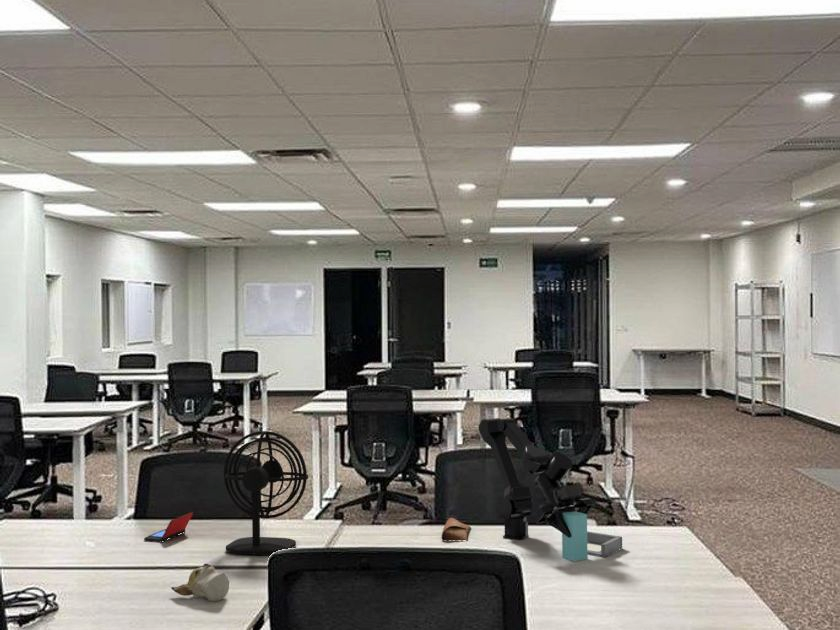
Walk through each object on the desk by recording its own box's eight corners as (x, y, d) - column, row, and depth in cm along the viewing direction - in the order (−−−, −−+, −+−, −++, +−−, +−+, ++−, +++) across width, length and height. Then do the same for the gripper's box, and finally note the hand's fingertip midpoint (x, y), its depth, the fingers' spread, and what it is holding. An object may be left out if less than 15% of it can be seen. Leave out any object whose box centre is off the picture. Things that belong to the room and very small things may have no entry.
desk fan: (315, 542, 264) (313, 429, 264) (295, 557, 247) (293, 437, 247) (233, 539, 270) (231, 428, 270) (208, 554, 253) (207, 435, 253)
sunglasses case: (469, 541, 262) (457, 522, 263) (449, 552, 263) (438, 534, 263) (471, 527, 280) (461, 509, 280) (453, 538, 281) (442, 520, 281)
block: (562, 557, 244) (561, 513, 244) (576, 554, 246) (575, 511, 246) (573, 561, 239) (573, 516, 239) (587, 558, 242) (586, 514, 242)
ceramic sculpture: (206, 571, 205) (168, 565, 214) (207, 608, 204) (169, 600, 213) (240, 561, 213) (202, 555, 222) (242, 596, 213) (203, 589, 222)
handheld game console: (166, 532, 281) (165, 509, 281) (194, 534, 278) (194, 511, 278) (142, 541, 269) (141, 518, 269) (171, 544, 266) (171, 520, 266)
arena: (570, 551, 250) (569, 539, 250) (587, 542, 258) (587, 531, 258) (605, 557, 243) (604, 544, 243) (622, 548, 252) (622, 536, 252)
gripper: (538, 477, 242) (564, 523, 232) (589, 470, 251) (616, 515, 241) (522, 500, 248) (546, 546, 239) (572, 492, 258) (598, 537, 248)
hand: (577, 535), depth 241 cm, fingers closed on block, 5 cm apart
